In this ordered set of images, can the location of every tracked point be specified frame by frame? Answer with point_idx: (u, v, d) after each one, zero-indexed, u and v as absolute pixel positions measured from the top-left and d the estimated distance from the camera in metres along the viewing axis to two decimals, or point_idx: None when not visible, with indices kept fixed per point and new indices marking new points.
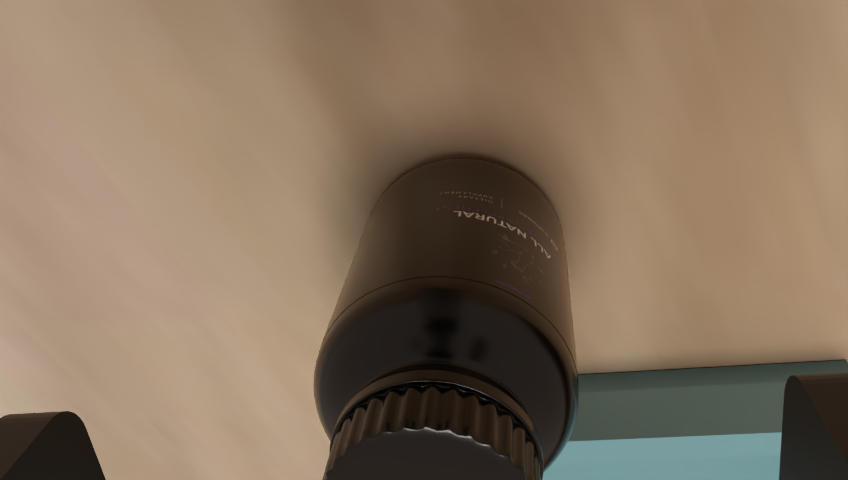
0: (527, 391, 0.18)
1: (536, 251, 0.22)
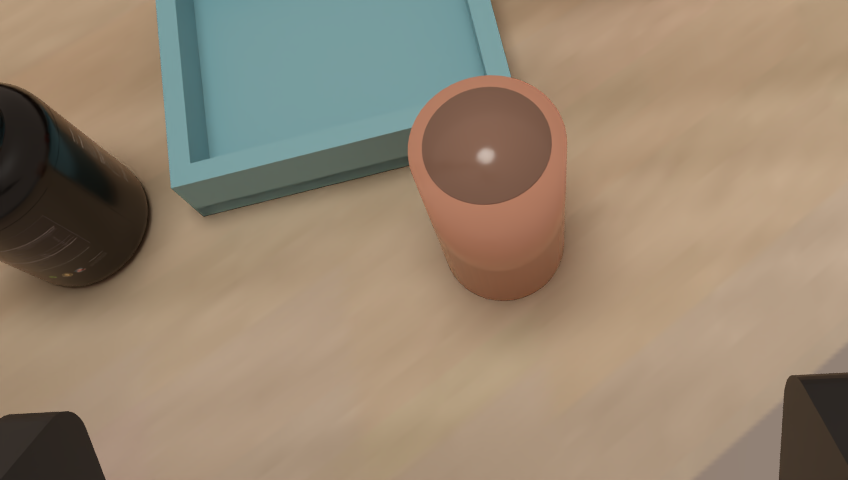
0: None
1: None
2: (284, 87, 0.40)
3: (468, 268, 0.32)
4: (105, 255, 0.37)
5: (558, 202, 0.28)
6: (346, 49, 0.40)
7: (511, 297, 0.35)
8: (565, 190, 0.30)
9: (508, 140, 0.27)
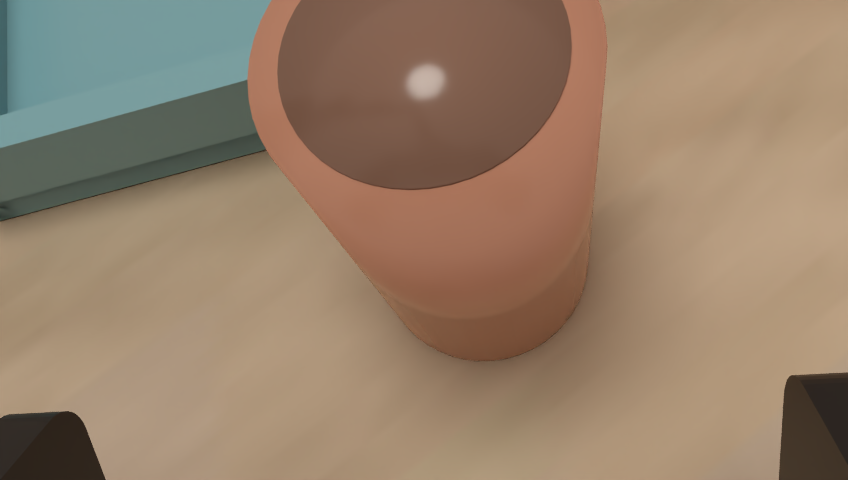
0: None
1: None
2: (132, 12, 0.25)
3: (410, 314, 0.17)
4: None
5: (584, 185, 0.13)
6: None
7: (496, 357, 0.20)
8: None
9: (473, 43, 0.12)
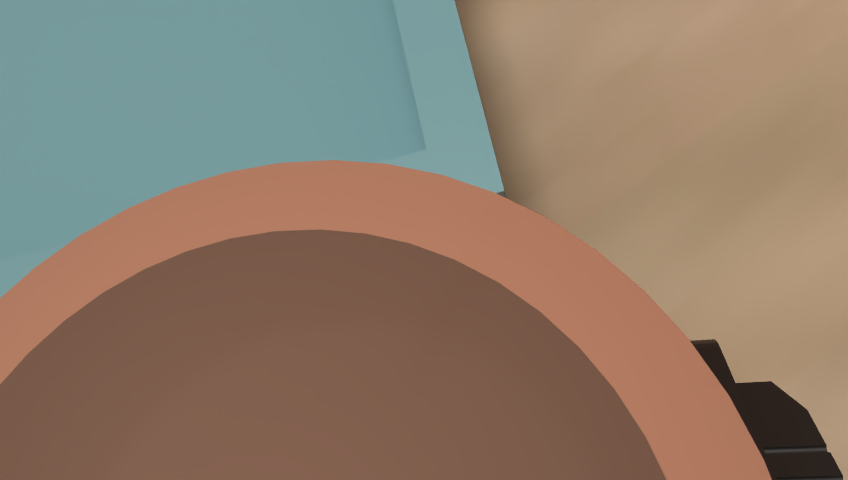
0: None
1: None
2: None
3: None
4: None
5: None
6: (112, 48, 0.17)
7: None
8: None
9: None
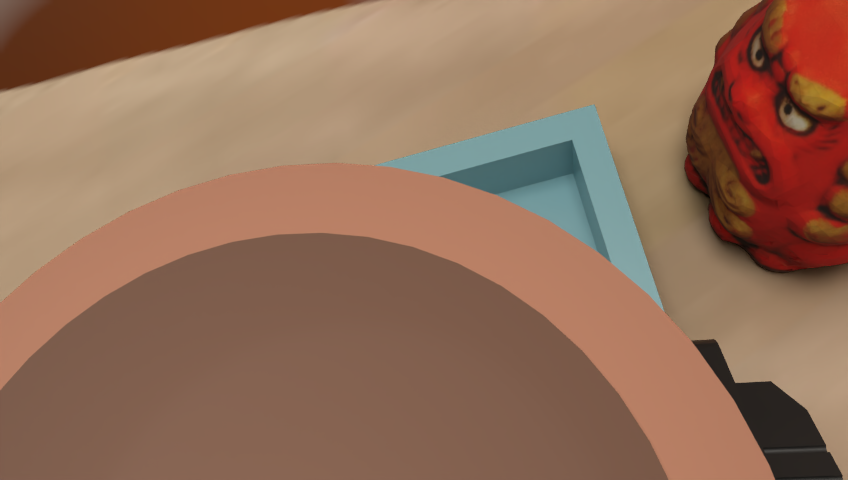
0: None
1: None
2: None
3: None
4: None
5: None
6: None
7: None
8: None
9: None
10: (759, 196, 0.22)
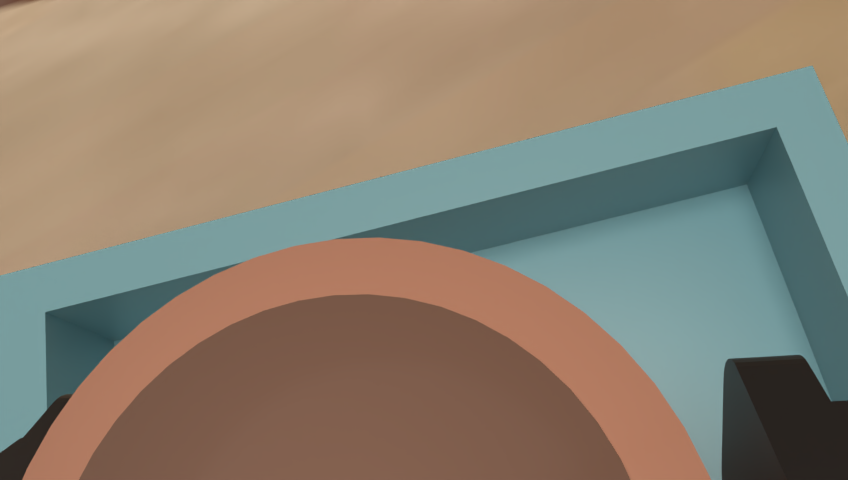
0: None
1: None
2: None
3: None
4: None
5: None
6: None
7: None
8: None
9: None
10: None
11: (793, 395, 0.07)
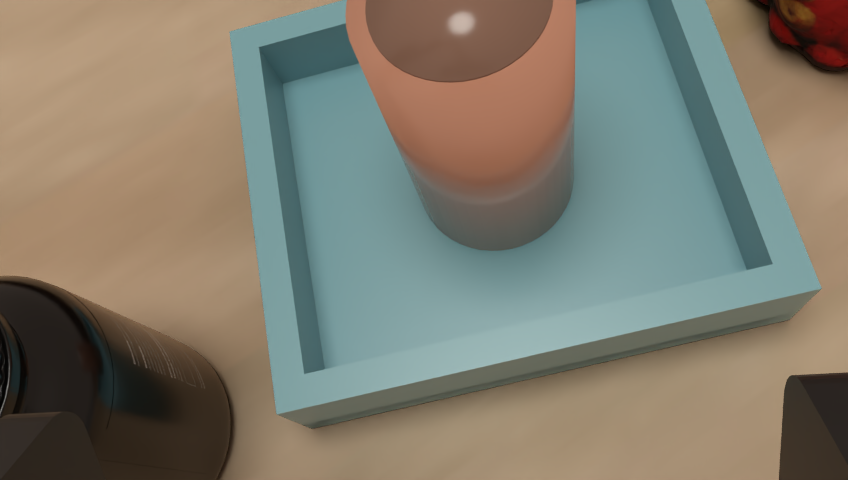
0: None
1: None
2: (426, 236, 0.27)
3: (441, 199, 0.23)
4: None
5: (563, 93, 0.20)
6: None
7: (503, 246, 0.26)
8: (574, 85, 0.21)
9: None
10: None
11: None
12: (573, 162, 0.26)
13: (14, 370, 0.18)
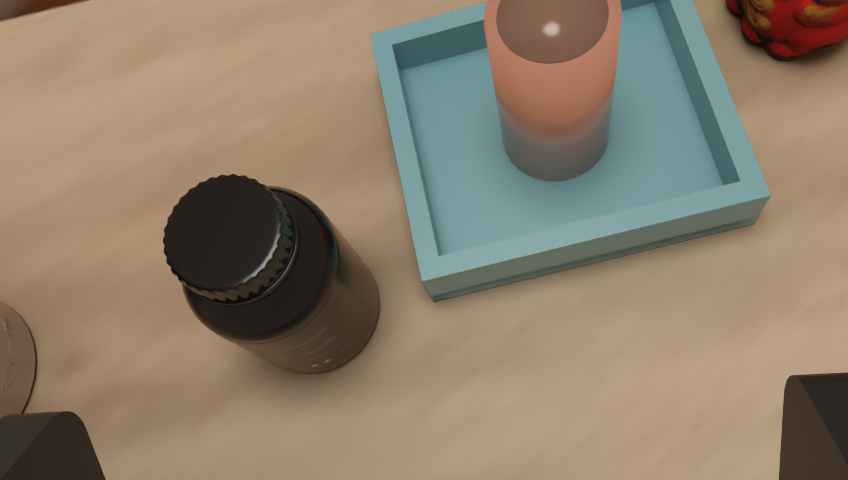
0: None
1: None
2: (508, 172, 0.40)
3: (528, 142, 0.36)
4: (350, 345, 0.38)
5: (611, 71, 0.33)
6: None
7: (562, 177, 0.39)
8: None
9: (571, 12, 0.31)
10: None
11: None
12: (610, 120, 0.38)
13: (298, 230, 0.31)
